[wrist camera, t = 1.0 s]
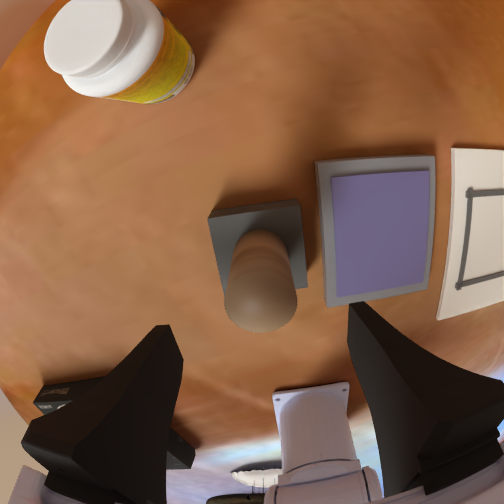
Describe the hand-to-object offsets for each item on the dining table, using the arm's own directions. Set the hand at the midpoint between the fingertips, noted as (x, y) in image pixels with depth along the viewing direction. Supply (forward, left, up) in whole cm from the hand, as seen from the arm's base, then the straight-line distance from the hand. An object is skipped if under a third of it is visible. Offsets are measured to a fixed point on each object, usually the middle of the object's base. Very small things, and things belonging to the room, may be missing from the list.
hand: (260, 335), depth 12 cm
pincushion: (-38, +4, -12) cm, 39 cm away
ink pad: (-1, -9, -11) cm, 14 cm away
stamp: (-1, 0, -11) cm, 11 cm away
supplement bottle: (+13, +5, -11) cm, 18 cm away
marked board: (-3, -22, -11) cm, 25 cm away
